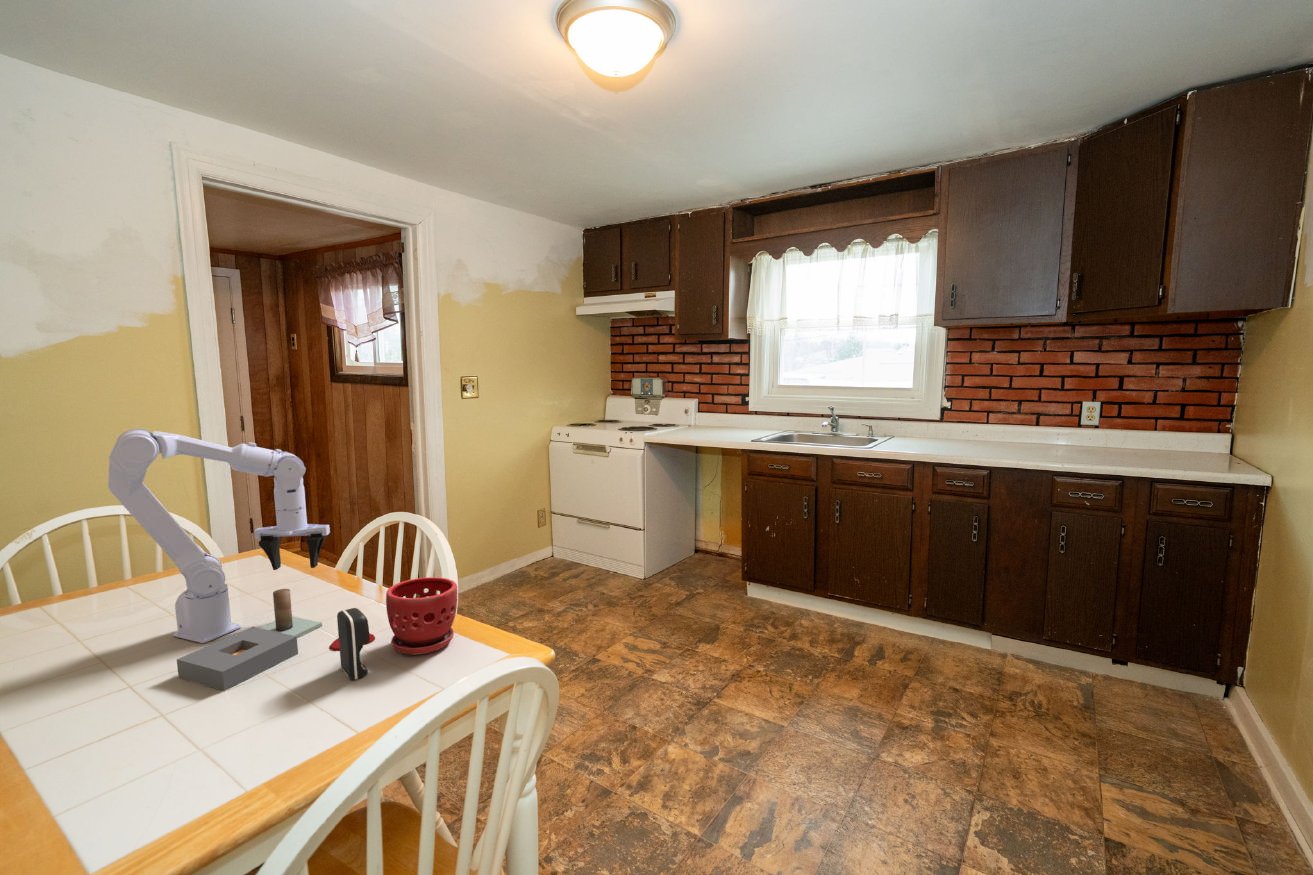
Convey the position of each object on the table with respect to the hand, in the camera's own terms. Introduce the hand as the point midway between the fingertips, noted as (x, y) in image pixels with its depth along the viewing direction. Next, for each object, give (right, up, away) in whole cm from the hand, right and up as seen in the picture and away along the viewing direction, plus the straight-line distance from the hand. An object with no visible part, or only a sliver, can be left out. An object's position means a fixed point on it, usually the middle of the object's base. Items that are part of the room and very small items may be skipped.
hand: (295, 567), depth 134 cm
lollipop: (+16, -12, -9) cm, 22 cm away
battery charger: (+26, -14, -24) cm, 38 cm away
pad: (+3, -12, -8) cm, 14 cm away
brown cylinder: (+3, -11, -8) cm, 14 cm away
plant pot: (+34, -13, -13) cm, 39 cm away
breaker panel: (+3, -14, -22) cm, 26 cm away
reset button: (+3, -13, -22) cm, 26 cm away
